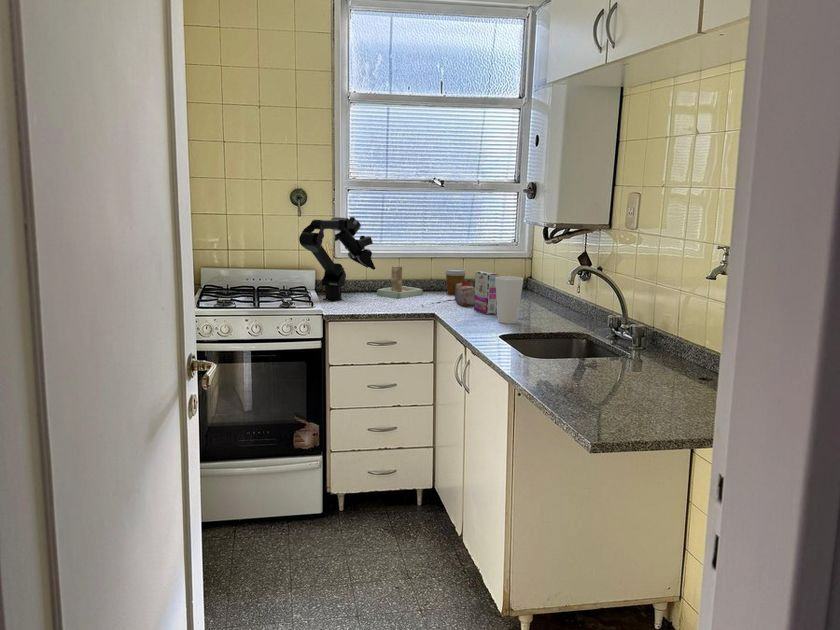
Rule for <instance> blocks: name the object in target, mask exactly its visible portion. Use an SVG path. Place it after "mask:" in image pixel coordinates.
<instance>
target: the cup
mask: <svg viewBox="0 0 840 630" xmlns="http://www.w3.org/2000/svg"><path fill="white" fill-rule="evenodd" d="M524 280H525V279H524V277H521V276H515V275H514V276H513V275H500V276H499V275H498V276H497V277H496V278H495V282H496V297H497V322H498V323H500V324H506V325H509V324H516V323H517V321H518V316H519V311H520V310H519V309H520V306H521V303H520V302H521V298H522V291H523V285H524Z"/></svg>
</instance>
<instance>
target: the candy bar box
mask: <svg viewBox="0 0 840 630" xmlns="http://www.w3.org/2000/svg"><path fill="white" fill-rule="evenodd" d="M497 276H499V273H495V272H490V271H486V270H476V271H475V277H474V288H475V296H474V306H473V311H475V310H476V311H475V312H478V313H481V314H483V315H496V314H497V315H498V313H497V297H496V282H495V278H496V277H497Z"/></svg>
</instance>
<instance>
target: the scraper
mask: <svg viewBox="0 0 840 630" xmlns="http://www.w3.org/2000/svg"><path fill="white" fill-rule="evenodd" d="M390 280H391V281H390V284H391V285H390V287H391V291H394V292H402V286H403V285H402V283H403V266H402V265H401V266H400V265H391V279H390Z"/></svg>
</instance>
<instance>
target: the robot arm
mask: <svg viewBox="0 0 840 630" xmlns="http://www.w3.org/2000/svg"><path fill="white" fill-rule="evenodd" d="M361 225H362V224H361V222H360V221H359V220H358V219H356V218H355V217H354V216H350V217H349V218H348V217H336V216H335V217H332V218H331V219H312V221H311V222H310V224H309V225H306V227H305V228H304V229H302V231H301V233H300V235H299V238H298V241H299V244H300V245H301V247H302V248H304V249H305V250H307V251H309V252H311V253H312V255H313V256H314V257H315V259H316V260H317V262H318V263H319V264H320V266H321V267H322V269H323V270H324V273H323V277H322V279H321V286H324V287H325V289H324V290H325V297H324V298H322V300H324V301H329V302H337V301H339V302H340V301H343V300H344V298H342V288H341V287H345V283H346V277H347V273H346V270H345V268H344V266H343V265H342V264H341V263H335V262H334V261H333V260H332V258H331V257H330V255H329V254H328V252H327V251H326V250H325V248H324V247H323V245H322V244H323V239H324V237H325V233H324V231H325V230H332V231H337V232H338V231H339V232H338V233H336V234H334V241H335V242H337V241H339V242H340V243H341V244H342V245H343V246H344V249H345V250H347V251H348V252H347V257H348V258H349V259H350V260H352V261H354V262H355V263H357V264H360V265H361V266H364V267H365V268H370V269H371V270H373V271H374V270H375V269H376V267H375V263H374V262H373V259H372V257H373V256H372V255H373V252H372V250H370V249H368V248H366V247H367V246H370V245H373V244H374V242H373V240H372V237H371V236H365V235H360V236H359V239H356V238H355V237H354V236H355V235H356V234H357V233H358V232H359V230H360V229H361V227H362V226H361ZM315 230H318V232H314V231H315Z"/></svg>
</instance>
